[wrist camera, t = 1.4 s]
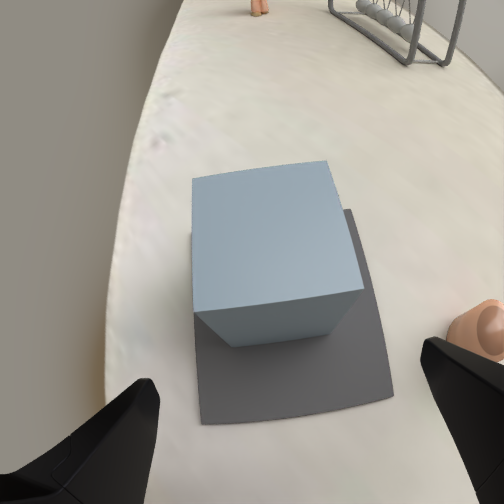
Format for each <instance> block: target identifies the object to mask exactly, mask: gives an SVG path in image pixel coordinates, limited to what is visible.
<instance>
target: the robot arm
mask: <svg viewBox="0 0 504 504" xmlns="http://www.w3.org/2000/svg"><path fill="white" fill-rule="evenodd" d="M420 362H421V366H422V368H423V371H424V373H425V376H426V379H427V381H428V384H429V387H430V389H431V392H432V395H433V397H434V400H435V402H436V404H437V406H438V408H439V410H440V412H441V414H442V416H443V418H444V420H445V422H446V425H447V427H448V429H449V431H450V433H451V435H452V437H453V440H454V442H455V444H456V446H457V449H458V451H459V453H460V455H461V458H462V460H463V462H464V465H465V467H466V470H467V472H468V475H469V477H470V480H471V482H472V485H473V487H474V490H475V492H476V496H477V498H478V501H479V504H504V365H502V364H499V363H497V362H495V361H492V360H490V359H487V358H485V357H483V356H480V355H478V354H476V353H473V352H471V351H469V350H466V349H464V348H462V347H459V346H457V345H455V344H452V343H450V342H448V341H445V340H443V339H441V338H438V337H431V338H427V339H426V340H425V341H424V343H423V348H422V353H421V358H420ZM159 408H160V397H159V394H158V392H157V390H156V387H155V385H154V383H153V381H152V380H151V379H150V378H140V379H138V380H137V381H135V382H134V383H133V384H132V385H131V386H129V387H128V388H127V389H126V390H124V391H123V392H122V393H121V394H120V395H118V396H117V397H116V398H115V399H114V400H112V401H111V402H110V403H109V404H107V405H106V406H105V407H104V408H103V409H101V410H100V411H99V412H98V413H96V414H95V415H94V416H93V417H92V418H90V419H89V420H88V421H86V422H85V423H84V424H83V425H81V426H80V427H79V428H78V429H76V430H75V431H74V432H73V433H71V435H70V436H68V437H66V438H65V439H64V440H63V441H61V442H60V443H59V444H57V445H56V446H55V447H53V448H52V449H50V450H49V451H47V452H46V453H45V454H43V455H41V456H40V457H38V458H37V459H35V460H33V461H32V462H30V463H29V464H27V465H26V466H24V467H22V468H20V469H19V470H17V471H15V472H12V473H9V474H0V504H144V498H145V493H146V488H147V483H148V478H149V473H150V468H151V463H152V458H153V453H154V448H155V444H156V438H157V428H158V417H159Z"/></svg>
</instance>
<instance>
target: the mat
mask: <svg viewBox="0 0 504 504" xmlns="http://www.w3.org/2000/svg"><path fill="white" fill-rule="evenodd" d="M343 212H344V215H345V219H346V222H347V225H348V229H349V232H350V236H351V239H352V243H353V247H354V250H355V254H356V258H357V261H358V265H359V269H360V273H361V277H362V281H363V285H364V290H363V291H362V292H361V294H360V295H359V297H358V298H357V299H356V301H355V302H354V303H353V305H352V306H351V308H350V309H349V310H348V312H347V313H346V314H345V316H344V317H343V318H342V319H341V321H340V322H339V323H338V325H337V326H336V327H335V329H334V330H333V331H332V332H331V334H328V335H322V336H316V337H309V338H303V339H296V340H289V341H282V342H275V343H267V344H259V345H250V346H241V347H231V346H230V345H229V344H228V343H226V342H225V341H224V340H223V339H222V338H221V337H220V336H219V335H218V334H216V333H215V332H214V331H213V330H212V329H211V328H210V327H209V326H208V325H207V324H206V323H205V322H204V321H203V320H201V319H200V318H199V317H198V316H197V315H196V314H195V313H194V329H195V347H196V363H197V377H198V390H199V401H200V412H201V423H202V424H226V423H242V422H255V421H265V420H274V419H283V418H290V417H298V416H304V415H310V414H316V413H322V412H328V411H333V410H338V409H343V408H348V407H352V406H357V405H361V404H365V403H369V402H373V401H377V400H381V399H385V398H389V397H392V396H394V392H393V385H392V379H391V373H390V367H389V361H388V355H387V350H386V344H385V339H384V334H383V329H382V325H381V320H380V315H379V311H378V306H377V302H376V298H375V294H374V289H373V285H372V281H371V277H370V274H369V270H368V266H367V262H366V259H365V255H364V251H363V248H362V244H361V241H360V237H359V234H358V231H357V227H356V224H355V221H354V218H353V215H352V211H351V209H345V210H343Z"/></svg>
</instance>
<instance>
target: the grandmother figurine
mask: <svg viewBox="0 0 504 504" xmlns="http://www.w3.org/2000/svg"><path fill="white" fill-rule="evenodd" d="M268 10H269V9H268V4H267V0H251V11H252V13H251V15H252V16H261V15H262V14H266V13H268Z"/></svg>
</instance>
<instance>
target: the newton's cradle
mask: <svg viewBox="0 0 504 504" xmlns="http://www.w3.org/2000/svg"><path fill="white" fill-rule="evenodd" d="M377 1H378V0H377ZM383 1H384V0H383ZM390 1H391V0H390ZM390 1H389V4H390ZM404 1H405V0H404ZM425 3H426V0H418V6H417V12H416V16H415V19H414V22H415V23H414V22H413V24H411V20H410V24H406V23H405V21H404V20H403V19H402V18H401V17H399V16H400V14H401V11H402V8H403V5H402V8H401V11H400V14H399V16H398V15H397V11H396V16H393V14H392V13H391V12H390V11H388V8H387V9H385V4H384V9H382V8H381V7H380V6H379V5H377V2H376V3H374V0H373V3H371V2H370V1H369V0H358V1H357V2H356V8H357V9H358V10H359V11H360V12H336V11H335V10H334V8H333V0H328V8H329V10H330V12H331V13H332V14H333V15H335V16H336V17H338V18H340V19H341V20H343V21H344V22H346V23H347V24H349V25H351V26H352V27H354V28H355V29H357V30H358V31H360V32H361V33H362V34H364V35H365V36H367V37H368V38H370V39H371V40H372V41H374V42H375V43H377V44H378V45H379V46H381V47H382V48H383V49H385V50H386V51H387V52H388V53H390V54H391V55H392V56H393V57H395V58H396V59H397V60H398V61H400V62H401V63H402V64H404V65H409V64H411V63H412V62H431V63H438V64H439V65H441V66H448V65H449V64H450V62H451V59H452V56H453V53H454V49H455V45H456V42H457V38H458V34H459V30H460V26H461V22H462V18H463V13H464V9H465V4H466V0H459V5H458V10H457V15H456V20H455V24H454V28H453V32H452V36H451V40H450V44H449V47H448V51H447V55H446V58H445V60H444V61H442V60H441V59H439V58H438V57H437V56H436V55H434V54H433V53H432V52H430V51H429V50H428V49H426V48H425V47H424V46H422V45H421V44H419V43H418V40H419V38H420V30H421V25H422V20H423V14H424V9H425ZM403 4H404V2H403ZM388 7H389V5H388ZM395 7H396V0H395ZM340 13H357V14H367V15H368V16H369V17H370V18H372V19H375V20H377V21H378V22H379V23H380V24H382V25H385V26H386V27H388V28H389V29H390V30H391V31H393V32H395V33H397V34H399V35H400V36H402V37H403V39H404V40H406V41H408V42H410V43H411V44H410V49H409V54H408V57H407V59H405V58H404V57H402V56H401V55H400V54H399V53H397V52H396V51H395V50H393V49H392V48H391V47H389V46H388V45H387V44H385V43H384V42H383V41H381V40H380V39H378V38H377V37H376V36H374V35H373V34H371V33H370V32H368V31H367V30H365V29H364V28H362V27H361V26H359V25H358V24H356V23H354V22H353V21H351V20H350V19H348V18H346V17H345V16H343V15H341V14H340ZM409 15H410V0H409ZM417 48H418V49H420V50H421V51H422V52H424V53H425V54H426V55H428V56H429V57H430V58H431V59H433V60H434V61H431V60H414V58H415V54H416V49H417Z"/></svg>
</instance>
